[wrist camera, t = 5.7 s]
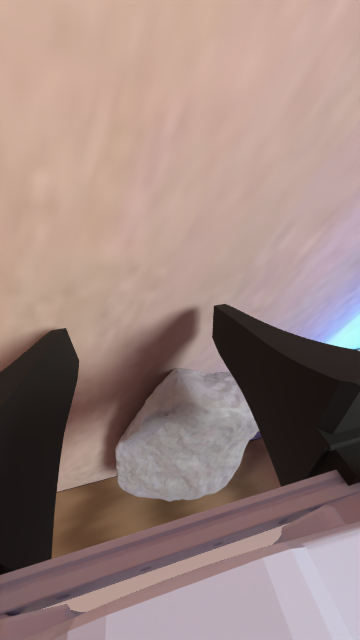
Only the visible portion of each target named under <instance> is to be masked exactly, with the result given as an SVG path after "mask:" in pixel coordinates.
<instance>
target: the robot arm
mask: <svg viewBox="0 0 360 640" xmlns="http://www.w3.org/2000/svg"><path fill="white" fill-rule="evenodd" d="M212 338H213V340H214V343H215V345H216V348H217V350H218V352H219V354H220V356H221V358H222V359H223V361H224V363H225V364H226V366H227V368H228V369H229V371H230V373H231V374H232V376H233V378H234V379H235V381H236V383H237V384H238V386H239V388H240V390H241V392H242V393H243V395H244V397H245V400H246V402H247V404H248V406H249V408H250V410H251V413H252V415H253V417H254V420H255V422H256V424H257V426H258V429H259V431H260V433H261V436H262V438H263V441H264V443H265V446H266V448H267V451H268V453H269V456H270V458H271V461H272V464H273V466H274V469H275V472H276V474H277V477H278V480H279V483H280V485H281V487H279V488H276V489H273V490H270V491H267V492H263V493H260V494H257V495H254V496H251V497H247V498H244V499H241V500H238V501H235V502H232V503H228V504H225V505H222V506H219V507H216V508H212V509H209V510H206V511H203V512H200V513H197V514H193V515H190V516H187V517H184V518H181V519H177V520H174V521H171V522H168V523H165V524H162V525H158V526H155V527H152V528H149V529H146V530H142V531H139V532H136V533H133V534H130V535H127V536H123V537H120V538H117V539H114V540H111V541H107V542H104V543H101V544H98V545H95V546H92V547H88V548H85V549H82V550H79V551H76V552H72V553H69V554H66V555H63V556H60V557H57V558H53V559H52V543H53V528H54V514H55V503H56V492H57V482H58V474H59V465H60V457H61V450H62V444H63V437H64V432H65V427H66V423H67V419H68V415H69V411H70V407H71V403H72V399H73V395H74V391H75V387H76V383H77V378H78V369H79V359H78V357H77V354H76V352H75V349H74V347H73V345H72V342H71V340H70V337H69V335H68V332H67V330H66V328H64V329H57V330H52V331H50V332H49V333H47V334H46V335H45V336H44V337H42V338H41V339H40V340H39V341H38V342H37V343H35V344H34V345H33V346H32V347H31V348H30V349H28V350H27V351H26V352H25V353H24V354H23V355H21V356H20V357H19V358H18V359H17V360H15V361H14V362H13V363H12V364H10V365H9V366H8V367H7V368H5V369H4V370H3V371H2V372H0V640H360V349H359V350H353V349H348V348H343V347H338V346H334V345H329V344H325V343H321V342H318V341H314V340H310V339H307V338H304V337H300V336H297V335H294V334H292V333H289V332H286V331H283V330H281V329H278V328H276V327H273V326H271V325H269V324H266V323H264V322H262V321H260V320H258V319H255V318H253V317H251V316H249V315H247V314H245V313H243V312H241V311H239V310H237V309H235V308H233V307H231V306H229V305H226V304H222V305H216V306H214V315H213V335H212ZM288 523H289V524H288ZM285 524H288V525H286V526H284V527H282V532H281V533H282V535H281V536H280V538H279V539H278V540H277V541H276V542H275V543H274V544H273V545H270V546H268V547H264V548H260V549H257V550H254V551H250V552H247V553H243V554H240V555H237V556H234V557H231V558H228V559H225V560H222V561H219V562H216V563H213V564H209V565H207V566H203V567H201V568H198V569H195V570H192V571H189V572H187V573H184V574H181V575H178V576H176V577H173V578H170V579H167V580H165V581H162V582H160V583H157V584H155V585H152V586H149V587H147V588H144V589H141V590H139V591H136V592H134V593H131V594H129V595H126V596H124V597H121V598H119V599H117V600H114V601H112V602H109V603H107V604H105V605H102V606H100V607H97V608H95V609H93V610H91V611H88V612H77V611H73V610H70V608H69V607H68V605H67V604H64V605H60V606H56V607H51V608H47V609H43V608H46V607H49V606H51V605H54V604H57V603H60V602H63V601H66V600H69V599H72V598H75V597H77V596H80V595H83V594H86V593H89V592H92V591H94V590H98V589H101V588H103V587H106V586H109V585H112V584H115V583H118V582H120V581H124V580H126V579H129V578H132V577H135V576H138V575H141V574H144V573H147V572H150V571H152V570H155V569H158V568H161V567H164V566H167V565H170V564H172V563H175V562H178V561H181V560H184V559H187V558H190V557H193V556H196V555H198V554H201V553H204V552H207V551H210V550H213V549H216V548H218V547H222V546H224V545H227V544H230V543H233V542H236V541H239V540H242V539H244V538H247V537H250V536H253V535H256V534H259V533H262V532H264V531H268V530H270V529H273V528H276V527H279V526H282V525H285ZM40 609H42V610H40ZM37 610H38V611H37Z"/></svg>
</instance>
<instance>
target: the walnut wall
mask: <svg viewBox="0 0 360 640" xmlns="http://www.w3.org/2000/svg"><path fill="white" fill-rule="evenodd" d="M279 487H281V485H280V483H279V480H278V477H277V474H276V472H275V469H274V466H273V464H272V461H271V458H270V456H269V453H268V451H267V448H266V446H265V443H264V441H263V438H259V439H256V440H252V441H248V443H247V445H246V448H245V450H244V453H243V457H242V460H241V463H240V466H239V467H238V469H237V470H236V471H235V473H234V475H233V477H232V478H231V479H230V481H229V482H228V484H227V485H226V486H225V487H223V488H222V489H221V490H219V491H218V492H216V493H214V494H209V495H204V496H202V497H201V498H198V499H193V500H184V499H181V500H173V501H170V502H169V501H166V500H163V499H159V498H148V497H137V496H135V495H133V494H131V493H128V492H127V491H124V490H123V489H122V488H121V487H120V486H119V484H118V481H117V477H113V478H110V479H106V480H102V481H98V482H95V483H91V484H87V485H84V486H80V487H76V488H72V489H69V490H65V491H61V492H57V493H56V503H55V514H54V528H53V543H52V559H53V558H57V557H60V556H63V555H66V554H69V553H72V552H76V551H79V550H82V549H85V548H88V547H92V546H95V545H98V544H101V543H104V542H107V541H111V540H114V539H117V538H120V537H123V536H127V535H130V534H133V533H136V532H139V531H142V530H146V529H149V528H152V527H155V526H158V525H162V524H165V523H168V522H171V521H174V520H177V519H181V518H184V517H187V516H190V515H193V514H197V513H200V512H203V511H206V510H209V509H212V508H216V507H219V506H222V505H225V504H228V503H232V502H235V501H238V500H241V499H244V498H247V497H251V496H254V495H257V494H260V493H263V492H267V491H270V490H273V489H276V488H279Z"/></svg>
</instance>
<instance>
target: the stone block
mask: <svg viewBox="0 0 360 640" xmlns="http://www.w3.org/2000/svg"><path fill="white" fill-rule="evenodd" d="M258 431H259V429H258V426H257V424H256V422H255V420H254V417H253V415H252V413H251V410H250V408H249V406H248V404H247V402H246V400H245V397H244V395H243V393H242V392H241V390H240V388H239V386H238V384H237V383H236V381H235V379H234V378H233V376H232V374H231V373H230V372H220V373H215V374H206V373H202V372H198V371H196V370H188V369H174V370H173V371H171V372H170V373H169V375H168V376H167V377H165V379H164V380H163V382H161V383H160V384H159V385H158V386H157V387H156V388H155V390H154V391H153V393H152V394H151V395H150V396H149V397H148V398H147V400H146V403H145V404H144V406H143V407H142V409H141V410H140V411H138V412H137V414H136V416H135V418H134V419H133V420H132V422H131V423H130V424H129V426H128V428H127V429H126V431H125V432H124V433H123V434H122V435H121V437H120V440H119V441H118V444H117V446H116V448H115V454H116V460H117V462H116V468H117V481H118V484H119V486H120V487H121V488H122V489H123V490H124V491H127V492H128V493H131V494H133V495H135V496H137V497H148V498H159V499H163V500H166V501H169V502H170V501H173V500H181V499H184V500H193V499H198V498H201V497H202V496H204V495H209V494H214V493H216V492H218V491H219V490H221V489H222V488H223V487H225V486H226V485H227V484H228V482H229V481H230V479H231V478H232V477H233V475H234V473H235V471H236V470H237V469H238V467H239V466H240V463H241V460H242V457H243V453H244V450H245V448H246V445H247V443H248V441H249V440H250V439H252V438H253V437H254V436H255V434H256V433H257V432H258Z"/></svg>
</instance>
